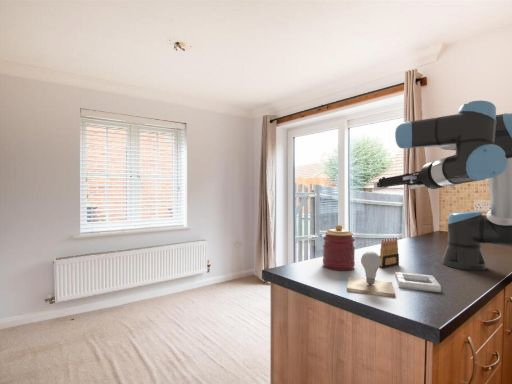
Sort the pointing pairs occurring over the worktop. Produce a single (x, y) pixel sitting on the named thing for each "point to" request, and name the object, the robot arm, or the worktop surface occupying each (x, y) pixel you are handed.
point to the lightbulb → (370, 265)
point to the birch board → (371, 287)
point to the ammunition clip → (389, 253)
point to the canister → (338, 249)
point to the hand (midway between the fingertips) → (392, 185)
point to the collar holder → (429, 286)
